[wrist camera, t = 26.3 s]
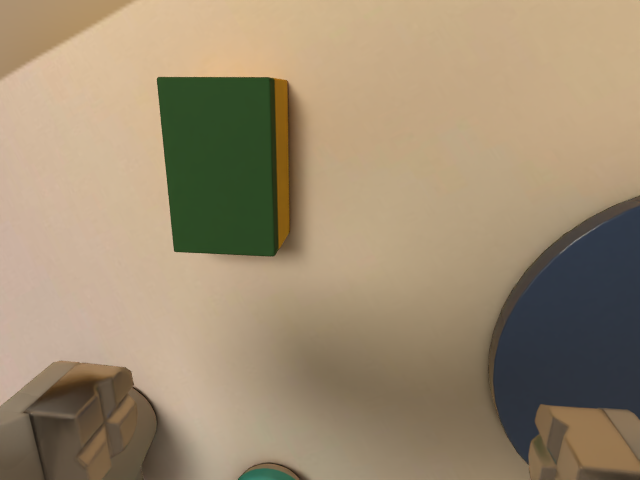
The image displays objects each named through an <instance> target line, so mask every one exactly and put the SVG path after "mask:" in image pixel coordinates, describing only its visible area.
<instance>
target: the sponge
mask: <svg viewBox="0 0 640 480" xmlns="http://www.w3.org/2000/svg"><path fill="white" fill-rule="evenodd" d="M157 85H158V95H159V105H160V115H161V125H162V135H163V145H164V155H165V165H166V175H167V185H168V195H169V205H170V215H171V225H172V235H173V245H174V251H175V252H188V253H210V254H231V255H253V256H275V255H276V253H277V251H278V250H279V249H280V247H281V245H282V244H283V242H284V240H285V239H286V237H287V236H288V234H289V232H290V220H289V155H288V91H287V80H282V79H276V78H269V77H158V78H157Z"/></svg>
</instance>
